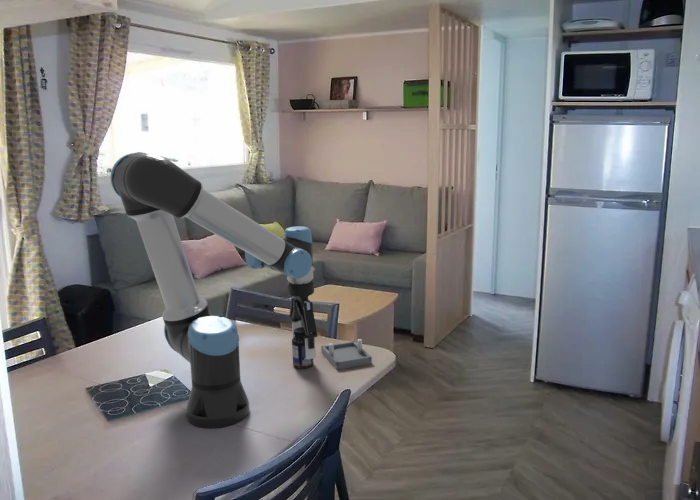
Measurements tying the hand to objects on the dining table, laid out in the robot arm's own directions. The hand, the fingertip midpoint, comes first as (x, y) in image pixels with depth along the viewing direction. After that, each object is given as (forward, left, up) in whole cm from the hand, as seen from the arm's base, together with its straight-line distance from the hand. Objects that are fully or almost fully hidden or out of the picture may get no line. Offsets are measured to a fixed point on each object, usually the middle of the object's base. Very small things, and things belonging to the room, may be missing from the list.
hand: (303, 350), depth 176 cm
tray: (0, -13, -5) cm, 14 cm away
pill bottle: (0, 0, -5) cm, 5 cm away
